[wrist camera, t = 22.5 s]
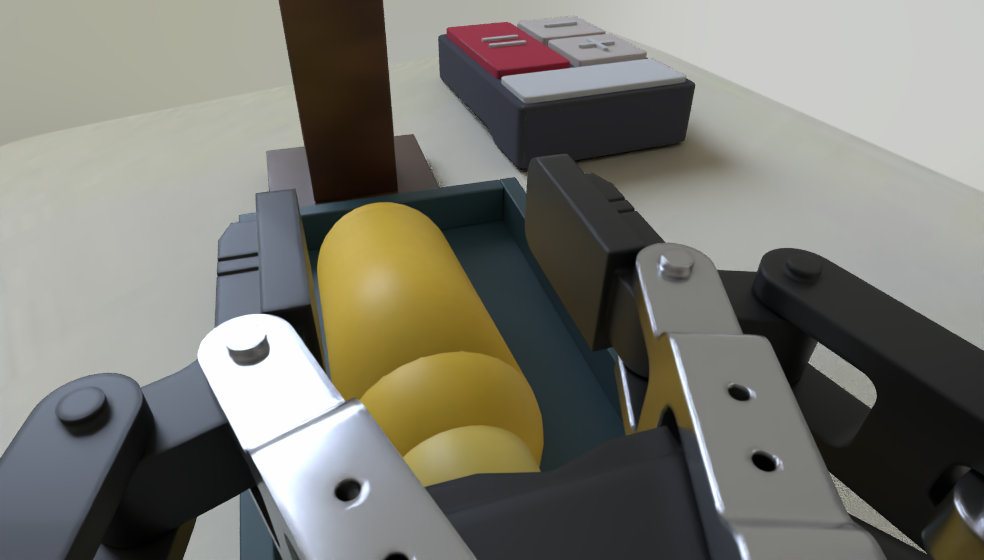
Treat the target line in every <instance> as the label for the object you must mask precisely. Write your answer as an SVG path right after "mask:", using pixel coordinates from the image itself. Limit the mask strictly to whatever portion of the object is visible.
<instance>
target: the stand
mask: <svg viewBox="0 0 984 560" xmlns="http://www.w3.org/2000/svg"><path fill="white" fill-rule="evenodd" d="M279 5H280V10H281V16H282V22H283V28H284V33H285V39H286V44H287V50H288V56H289V61H290V67H291V73H292V78H293V84H294V90H295V95H296V101H297V107H298V112H299V118H300V123H301V129H302V135H303V140H304V146H305V147H297V148H289V149H280V150H271V151H267V152H266V154H267V167H268V181H269V192H270V191H278V190H285V189H293V188H295V189H296V194H297V198H298V203H299V207H304V206H311V205H318V204H326V203H333V202H340V201H347V200H355V199H362V198H369V197H377V196H384V195H391V194H398V193H406V192H413V191H420V190H428V189H435V188H439V186H438V184H437V182H436V180H435V178H434V176H433V174H432V172H431V170H430V168H429V165H428V163H427V161H426V159H425V157H424V155H423V153H422V151H421V149H420V147H419V145H418V143H417V141H416V138H415V136H414V134H411V135H402V136H394V131H393V119H392V107H391V94H390V82H389V70H388V57H387V46H386V33H385V22H384V8H383V0H279Z"/></svg>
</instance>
